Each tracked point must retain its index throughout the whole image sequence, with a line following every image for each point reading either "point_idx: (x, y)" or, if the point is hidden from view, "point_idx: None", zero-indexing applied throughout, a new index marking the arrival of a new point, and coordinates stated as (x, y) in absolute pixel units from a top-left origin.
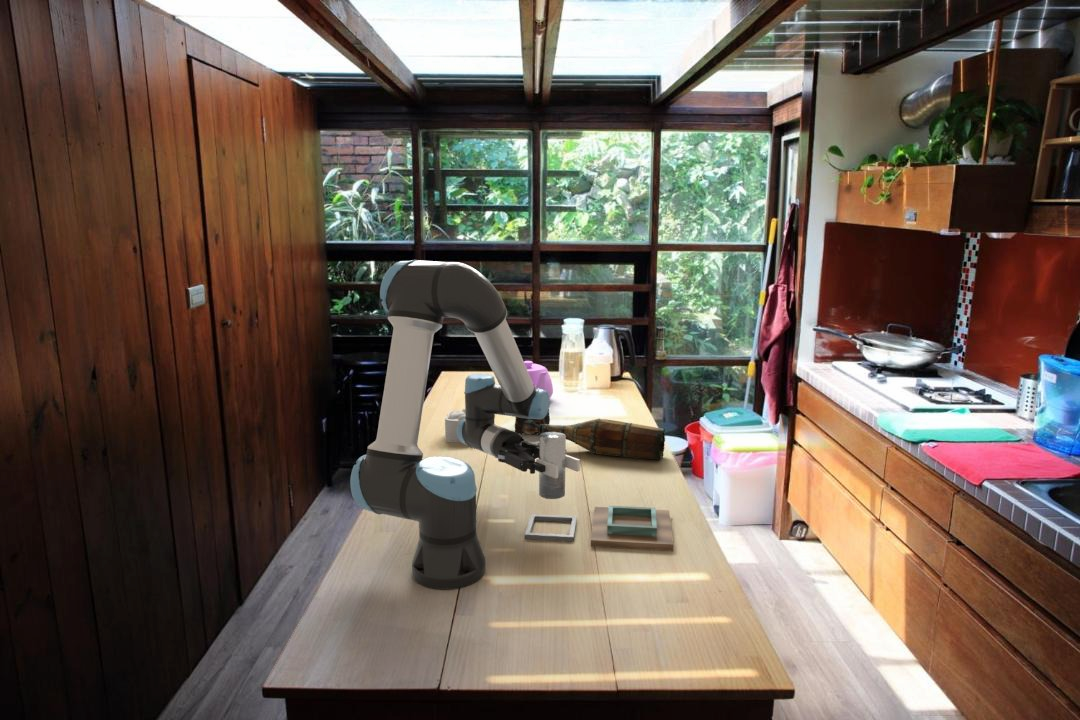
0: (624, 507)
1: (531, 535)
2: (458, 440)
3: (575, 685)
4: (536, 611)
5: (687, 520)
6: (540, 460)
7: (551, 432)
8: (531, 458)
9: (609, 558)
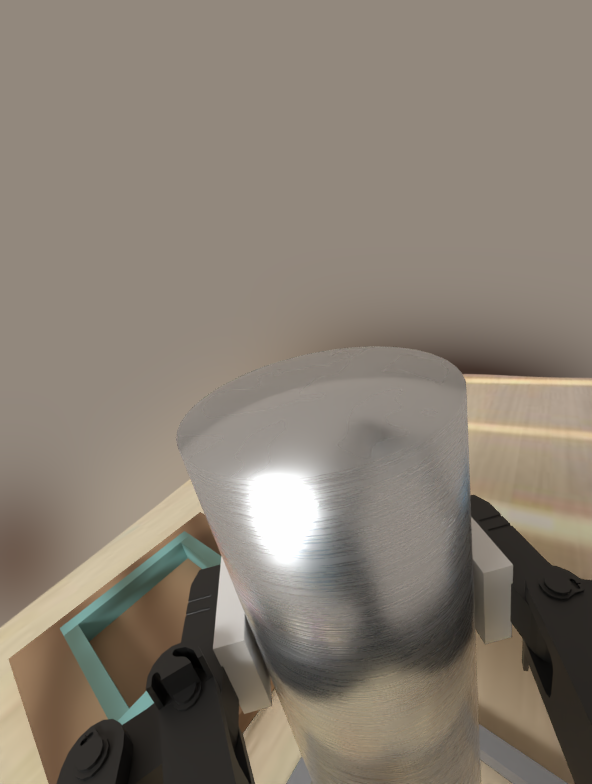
0: (105, 683)
1: (538, 766)
2: None
3: (495, 376)
4: (534, 448)
5: (32, 621)
6: (474, 529)
7: (243, 461)
8: (571, 626)
9: None
